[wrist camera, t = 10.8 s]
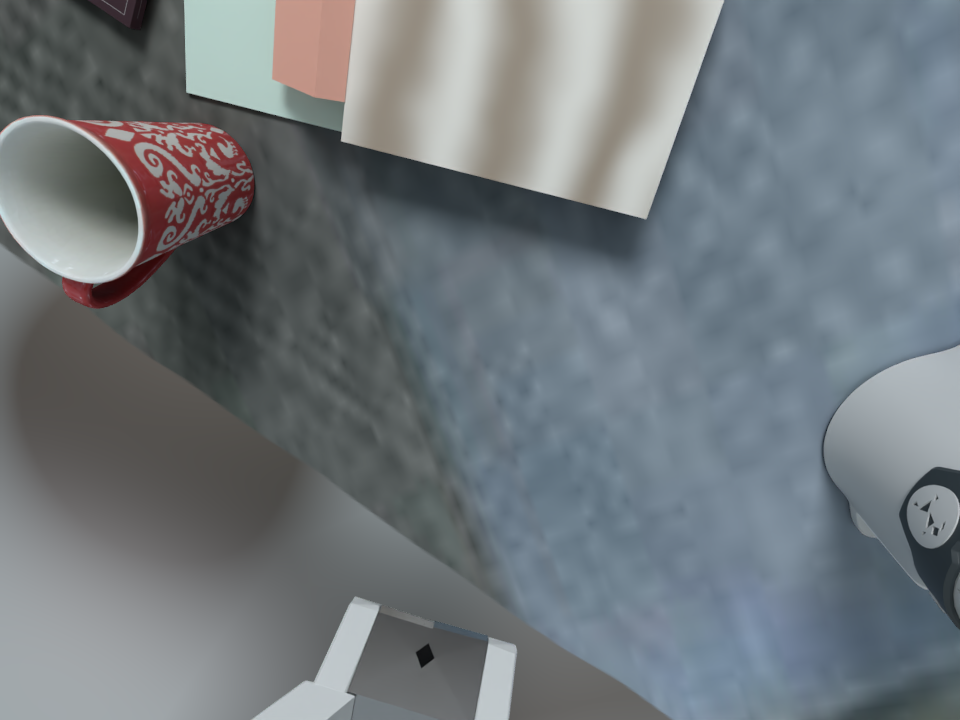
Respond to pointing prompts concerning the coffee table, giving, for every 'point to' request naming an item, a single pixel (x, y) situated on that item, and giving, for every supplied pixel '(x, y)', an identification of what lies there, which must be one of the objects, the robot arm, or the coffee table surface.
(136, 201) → the mug
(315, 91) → the salmon pink eraser
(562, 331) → the coffee table surface
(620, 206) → the striped beige block
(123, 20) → the chocolate bar
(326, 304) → the coffee table surface
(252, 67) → the mat
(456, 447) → the coffee table surface
